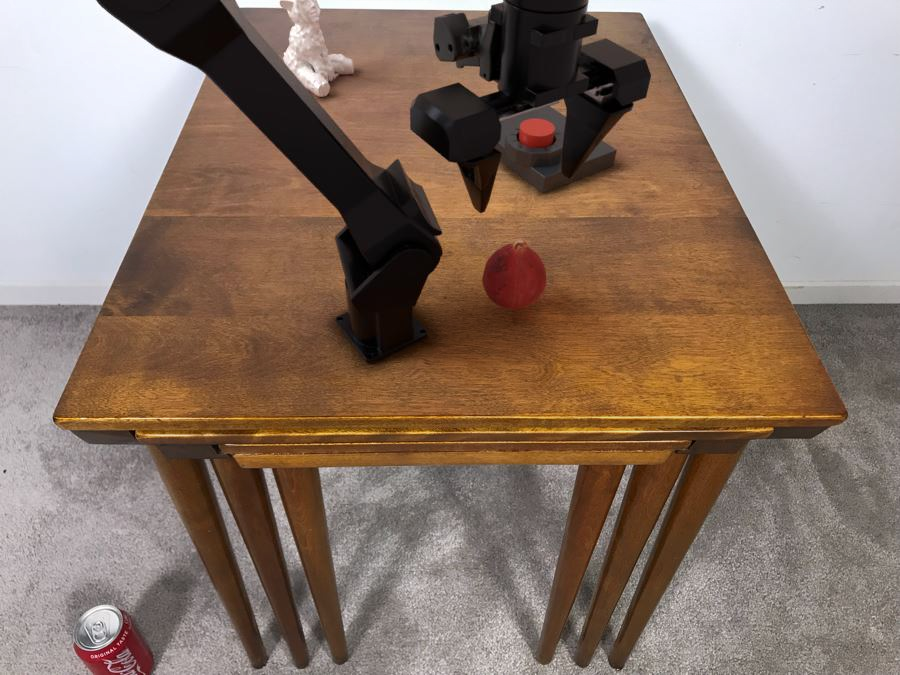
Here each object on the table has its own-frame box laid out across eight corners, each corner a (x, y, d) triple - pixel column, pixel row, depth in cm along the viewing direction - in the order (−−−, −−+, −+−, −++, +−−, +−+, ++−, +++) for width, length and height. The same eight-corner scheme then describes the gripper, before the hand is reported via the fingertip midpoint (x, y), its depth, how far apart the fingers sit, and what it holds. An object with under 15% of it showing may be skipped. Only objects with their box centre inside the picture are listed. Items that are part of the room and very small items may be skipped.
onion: (491, 332, 66) (497, 266, 60) (473, 292, 70) (477, 226, 64) (550, 321, 67) (561, 255, 61) (529, 282, 71) (538, 216, 65)
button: (560, 143, 83) (562, 129, 81) (533, 153, 81) (534, 139, 80) (538, 128, 85) (540, 115, 84) (511, 137, 83) (512, 124, 82)
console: (613, 165, 86) (619, 136, 83) (536, 196, 81) (540, 166, 78) (540, 116, 94) (543, 87, 91) (466, 141, 89) (467, 112, 86)
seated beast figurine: (323, 100, 96) (313, 8, 87) (269, 87, 98) (253, -4, 90) (357, 71, 102) (351, -17, 93) (305, 59, 104) (294, -28, 96)
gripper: (572, -61, 56) (549, 120, 67) (365, -16, 49) (377, 180, 60) (677, -15, 50) (632, 176, 61) (457, 45, 42) (451, 250, 54)
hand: (524, 192), depth 59 cm, fingers open, 9 cm apart
